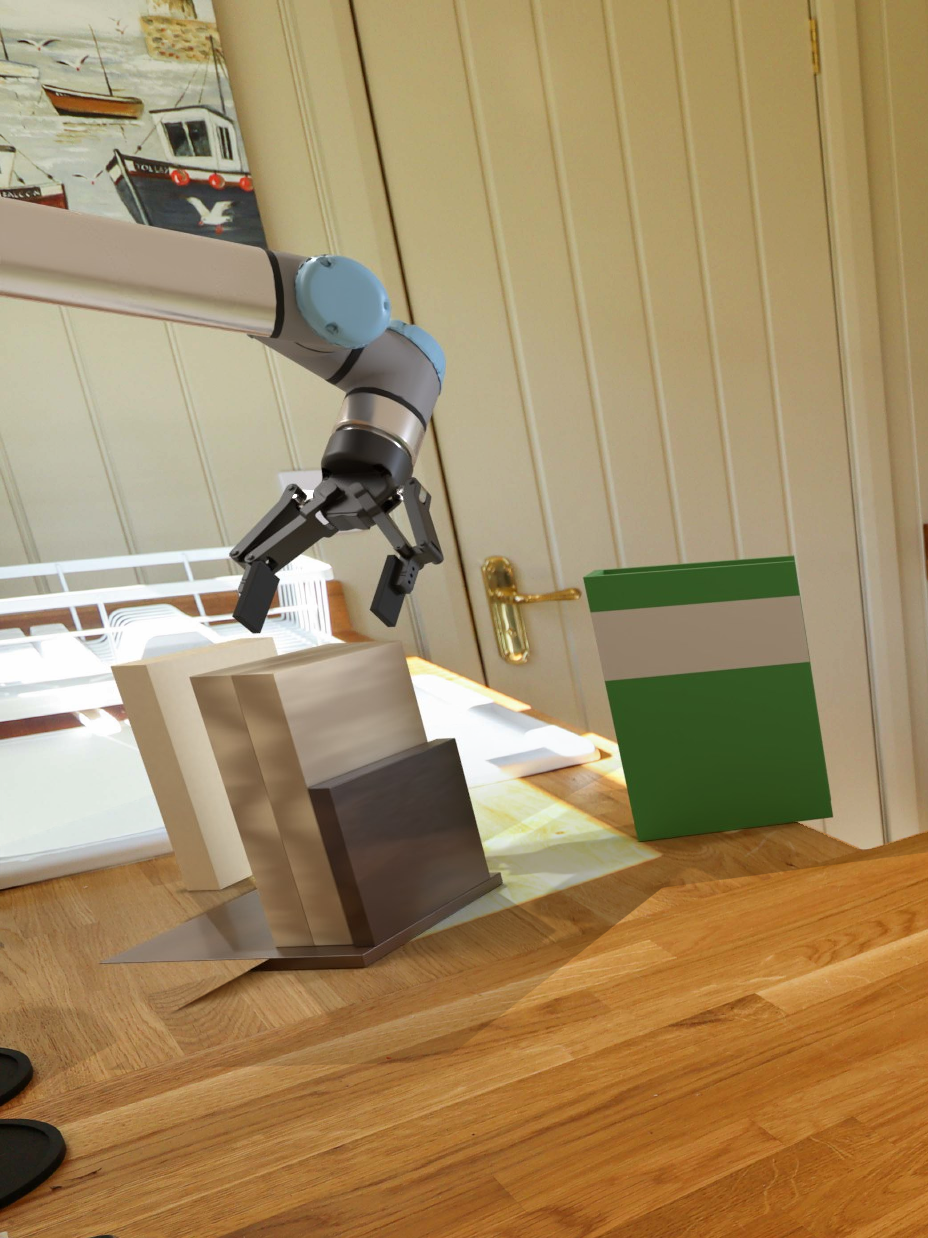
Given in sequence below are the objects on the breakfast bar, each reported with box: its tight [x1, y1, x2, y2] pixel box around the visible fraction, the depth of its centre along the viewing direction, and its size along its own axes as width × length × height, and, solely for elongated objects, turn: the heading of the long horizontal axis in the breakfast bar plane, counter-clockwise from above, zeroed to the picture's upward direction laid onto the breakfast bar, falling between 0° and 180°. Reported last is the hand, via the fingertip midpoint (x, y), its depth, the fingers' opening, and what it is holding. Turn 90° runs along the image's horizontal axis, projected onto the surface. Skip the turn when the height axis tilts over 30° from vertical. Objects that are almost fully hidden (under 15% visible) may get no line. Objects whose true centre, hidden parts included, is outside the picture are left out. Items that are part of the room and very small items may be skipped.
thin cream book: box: [110, 636, 279, 892], centre depth 111 cm, size 3×14×20 cm, turn 178°
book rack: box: [98, 639, 504, 972], centre depth 96 cm, size 20×18×21 cm
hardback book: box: [582, 554, 834, 843], centre depth 119 cm, size 18×7×24 cm, turn 107°
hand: (314, 622), depth 121 cm, fingers open, 13 cm apart
